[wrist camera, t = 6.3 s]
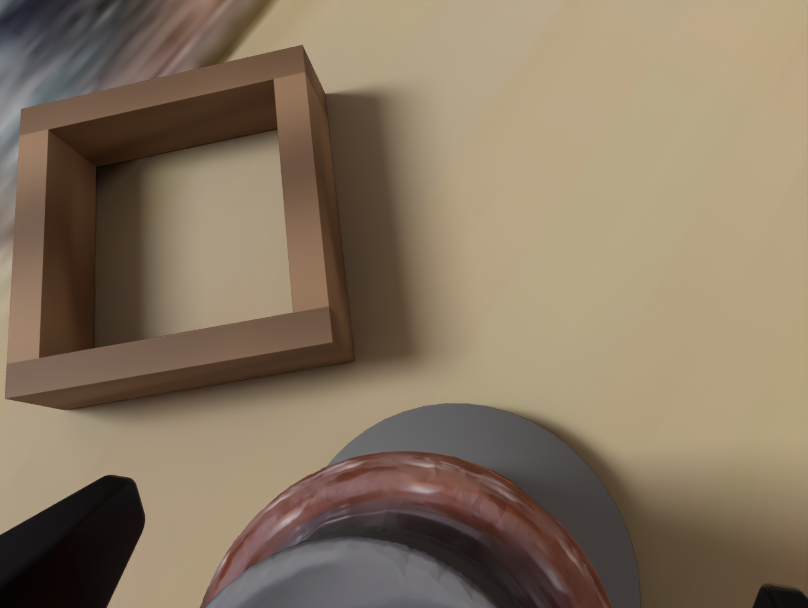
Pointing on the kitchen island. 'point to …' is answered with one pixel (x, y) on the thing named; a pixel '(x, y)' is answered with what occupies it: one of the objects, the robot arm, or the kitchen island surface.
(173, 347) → the pocket
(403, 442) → the coaster
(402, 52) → the kitchen island surface
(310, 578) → the supplement bottle
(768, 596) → the robot arm
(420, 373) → the kitchen island surface
